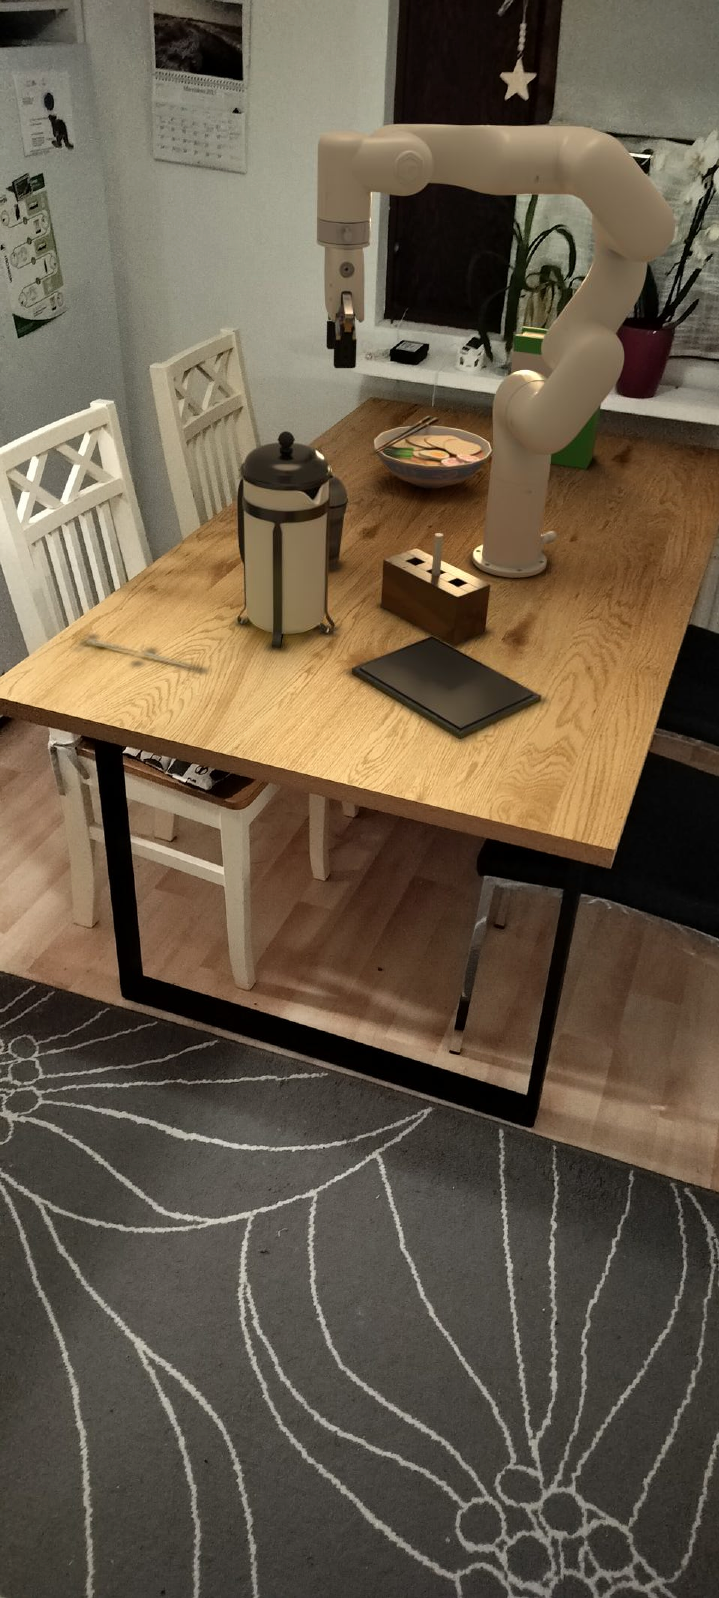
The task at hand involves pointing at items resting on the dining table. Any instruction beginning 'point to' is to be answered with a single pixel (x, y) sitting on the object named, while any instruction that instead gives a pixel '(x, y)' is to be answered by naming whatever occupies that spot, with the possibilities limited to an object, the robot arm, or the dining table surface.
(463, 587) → the pen block
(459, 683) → the tablet
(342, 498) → the beverage cup
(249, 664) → the dining table surface
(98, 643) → the stylus
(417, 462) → the ramen bowl
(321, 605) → the coffee press
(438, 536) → the rod
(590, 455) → the hardback book
